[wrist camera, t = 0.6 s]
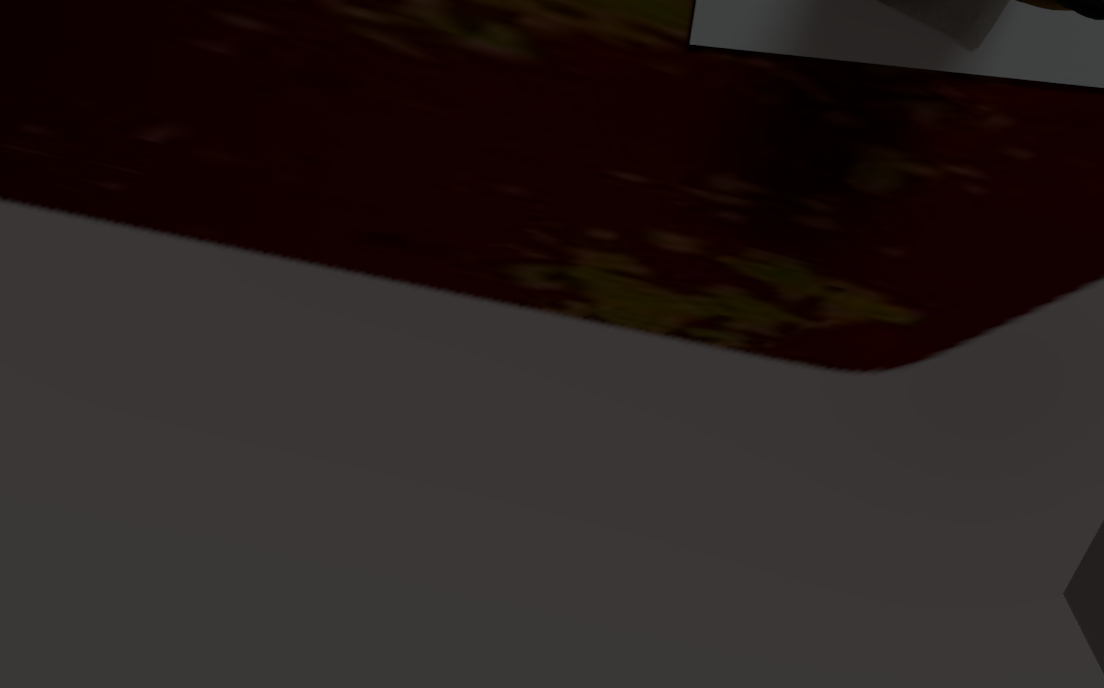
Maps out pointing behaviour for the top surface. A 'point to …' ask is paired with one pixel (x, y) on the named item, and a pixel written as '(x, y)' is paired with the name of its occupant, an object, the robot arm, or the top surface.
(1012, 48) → the sheet
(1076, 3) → the condiment
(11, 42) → the top surface
